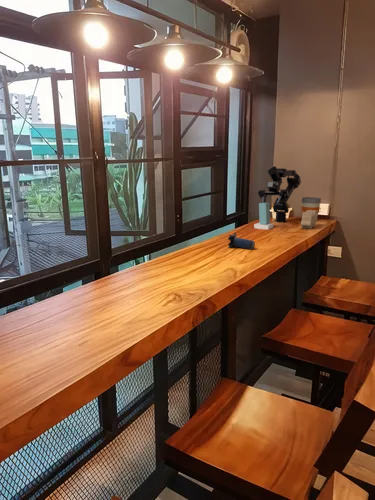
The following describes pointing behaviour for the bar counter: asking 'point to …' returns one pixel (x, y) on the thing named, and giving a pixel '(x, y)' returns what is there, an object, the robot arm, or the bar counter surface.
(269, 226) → the base brick
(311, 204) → the reusable coffee cup
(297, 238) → the bar counter surface
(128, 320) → the bar counter surface
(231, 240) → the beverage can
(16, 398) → the bar counter surface
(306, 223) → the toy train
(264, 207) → the teal column
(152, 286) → the bar counter surface
